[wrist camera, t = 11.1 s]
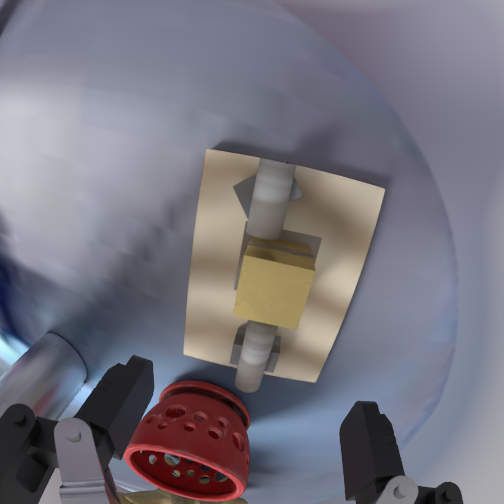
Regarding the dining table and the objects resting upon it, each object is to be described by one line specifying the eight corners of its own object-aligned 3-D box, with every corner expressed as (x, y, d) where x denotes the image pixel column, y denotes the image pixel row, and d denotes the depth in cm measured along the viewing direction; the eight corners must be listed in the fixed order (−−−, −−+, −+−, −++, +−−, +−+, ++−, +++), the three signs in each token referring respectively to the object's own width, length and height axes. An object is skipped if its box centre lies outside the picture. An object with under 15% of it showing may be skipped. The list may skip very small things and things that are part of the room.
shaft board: (314, 375, 28) (316, 409, 23) (186, 347, 28) (171, 377, 24) (381, 185, 21) (403, 194, 16) (211, 147, 21) (190, 146, 17)
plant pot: (267, 431, 32) (257, 506, 21) (179, 428, 35) (154, 492, 23) (246, 365, 28) (225, 460, 17) (143, 366, 31) (98, 437, 19)
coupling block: (310, 245, 22) (316, 270, 17) (296, 296, 23) (297, 330, 19) (253, 232, 22) (243, 254, 17) (242, 284, 24) (231, 316, 19)
